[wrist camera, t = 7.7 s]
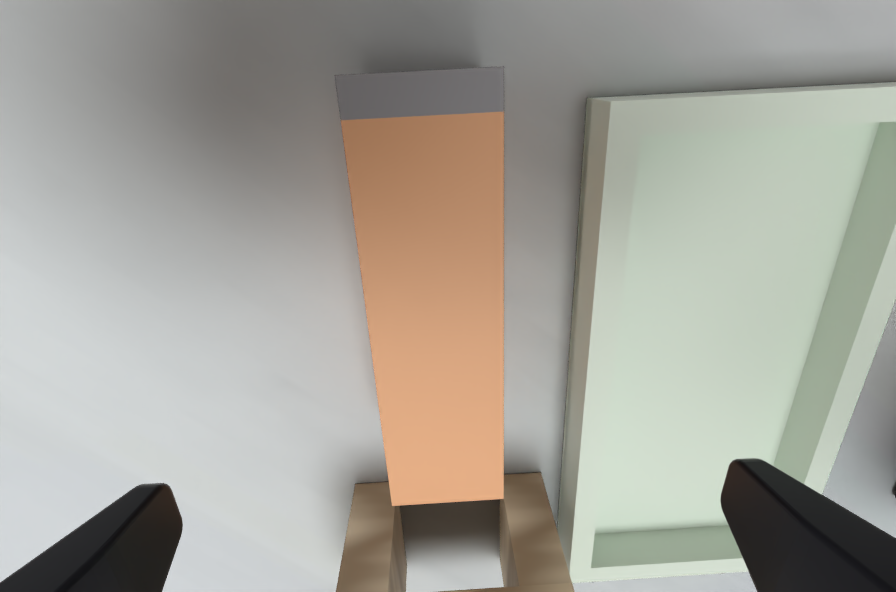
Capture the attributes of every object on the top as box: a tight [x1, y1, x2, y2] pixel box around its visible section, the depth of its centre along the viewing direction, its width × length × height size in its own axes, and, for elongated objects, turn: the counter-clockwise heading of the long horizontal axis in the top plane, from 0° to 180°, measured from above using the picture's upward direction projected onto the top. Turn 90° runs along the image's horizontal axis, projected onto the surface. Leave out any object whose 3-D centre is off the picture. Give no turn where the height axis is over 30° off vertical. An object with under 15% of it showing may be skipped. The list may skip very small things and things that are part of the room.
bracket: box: [336, 472, 574, 592], centre depth 21 cm, size 9×6×7 cm, turn 92°
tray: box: [557, 82, 896, 583], centre depth 20 cm, size 11×22×2 cm, turn 2°
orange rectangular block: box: [335, 66, 504, 506], centre depth 17 cm, size 4×14×5 cm, turn 2°
